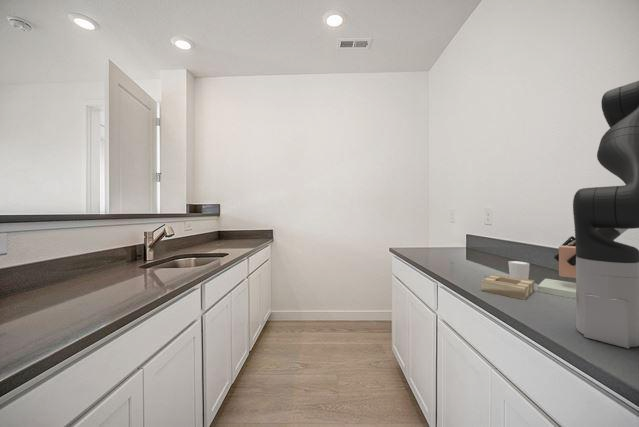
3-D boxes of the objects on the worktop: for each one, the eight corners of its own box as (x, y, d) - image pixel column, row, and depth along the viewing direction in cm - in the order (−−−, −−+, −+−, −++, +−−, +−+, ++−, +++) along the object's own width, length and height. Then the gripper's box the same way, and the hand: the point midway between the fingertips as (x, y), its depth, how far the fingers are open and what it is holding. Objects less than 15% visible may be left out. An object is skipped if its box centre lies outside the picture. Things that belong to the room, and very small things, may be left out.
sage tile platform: (599, 302, 74) (599, 296, 74) (537, 291, 85) (537, 285, 85) (601, 292, 83) (601, 286, 83) (545, 283, 93) (545, 278, 93)
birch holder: (524, 299, 77) (524, 288, 77) (481, 290, 86) (481, 280, 86) (534, 290, 86) (534, 280, 86) (494, 283, 95) (493, 274, 95)
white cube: (534, 281, 96) (534, 264, 96) (516, 282, 96) (516, 264, 96) (520, 277, 103) (520, 260, 103) (504, 277, 103) (503, 260, 103)
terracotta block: (577, 278, 81) (577, 248, 80) (559, 275, 84) (558, 246, 84) (579, 275, 83) (578, 246, 83) (561, 273, 87) (560, 245, 87)
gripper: (579, 218, 88) (540, 250, 92) (615, 220, 74) (567, 257, 78) (598, 233, 87) (558, 265, 90) (638, 237, 73) (589, 275, 76)
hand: (562, 261), depth 84 cm, fingers closed on terracotta block, 6 cm apart
